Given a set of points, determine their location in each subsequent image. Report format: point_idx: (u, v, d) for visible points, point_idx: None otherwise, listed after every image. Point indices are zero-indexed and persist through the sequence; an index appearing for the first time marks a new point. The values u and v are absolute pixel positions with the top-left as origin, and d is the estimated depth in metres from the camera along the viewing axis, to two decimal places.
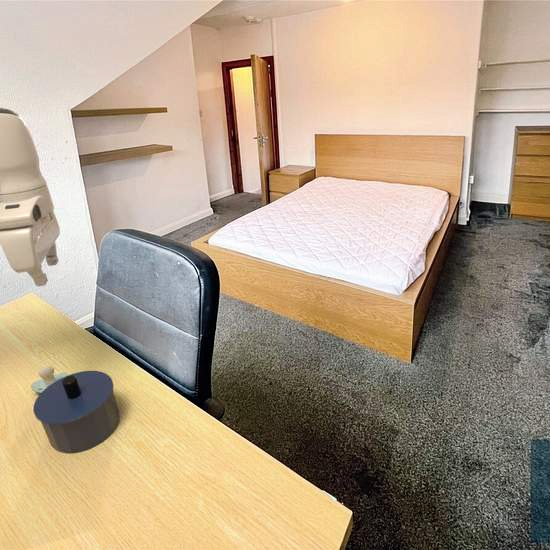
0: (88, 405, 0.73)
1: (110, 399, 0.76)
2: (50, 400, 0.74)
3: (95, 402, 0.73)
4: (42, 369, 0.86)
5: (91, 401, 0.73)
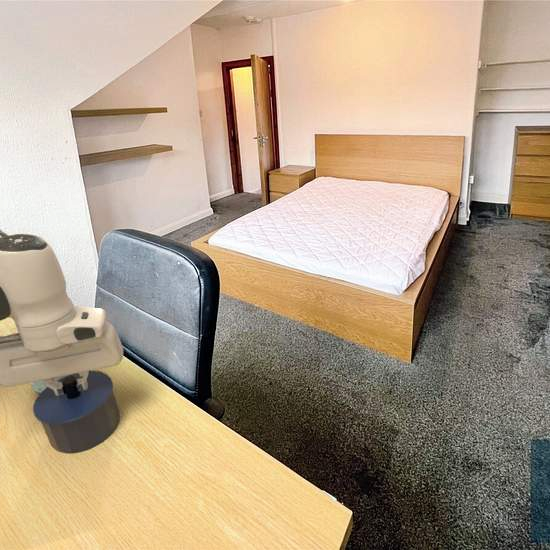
0: (88, 405, 0.73)
1: (110, 399, 0.76)
2: (50, 400, 0.74)
3: (95, 402, 0.73)
4: None
5: (91, 401, 0.73)
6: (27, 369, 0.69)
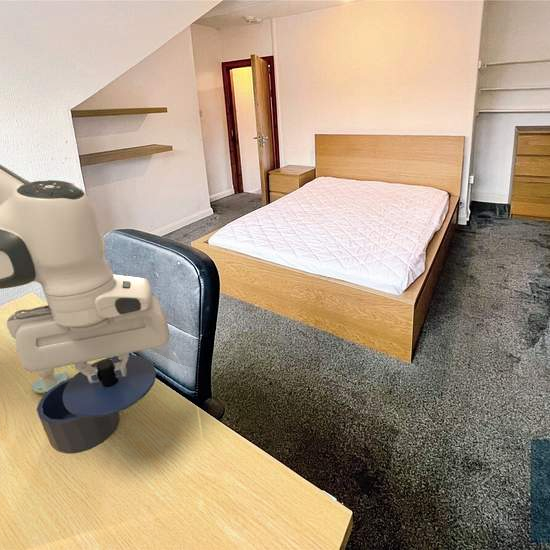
0: (129, 394, 0.60)
1: None
2: (82, 388, 0.62)
3: (137, 391, 0.61)
4: None
5: (132, 389, 0.61)
6: (57, 350, 0.57)
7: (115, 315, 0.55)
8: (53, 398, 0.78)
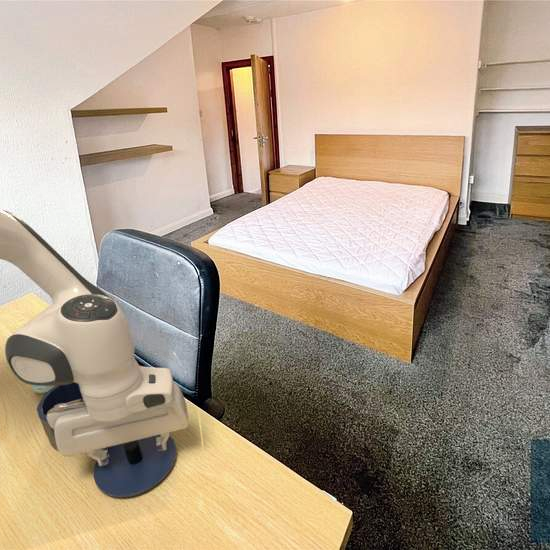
0: (153, 473, 0.67)
1: None
2: (110, 465, 0.69)
3: (160, 469, 0.68)
4: None
5: (155, 468, 0.68)
6: (90, 437, 0.64)
7: (143, 409, 0.62)
8: (53, 398, 0.78)
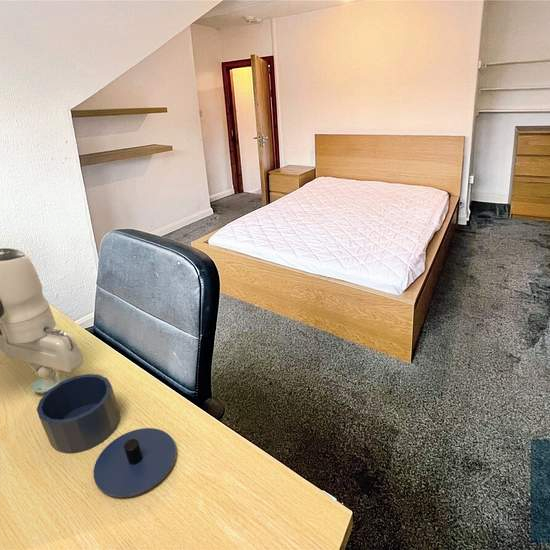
0: (153, 473, 0.67)
1: (110, 399, 0.76)
2: (110, 465, 0.69)
3: (160, 469, 0.68)
4: (41, 369, 0.86)
5: (155, 468, 0.68)
6: None
7: None
8: (53, 398, 0.78)
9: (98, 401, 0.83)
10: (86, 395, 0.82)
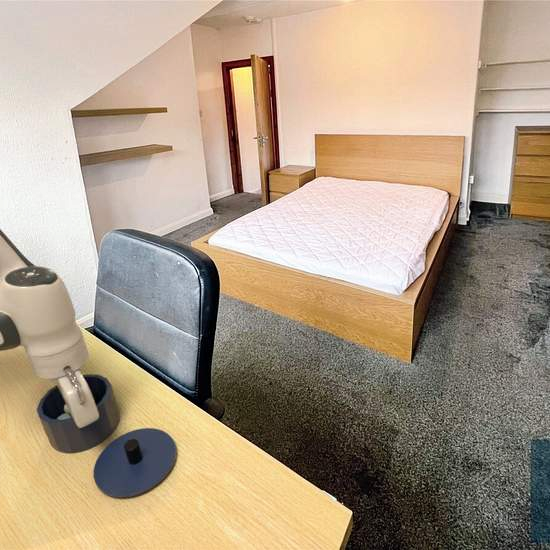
0: (153, 473, 0.67)
1: (110, 399, 0.76)
2: (110, 465, 0.69)
3: (160, 469, 0.68)
4: None
5: (155, 468, 0.68)
6: None
7: None
8: (53, 398, 0.78)
9: (98, 401, 0.83)
10: None
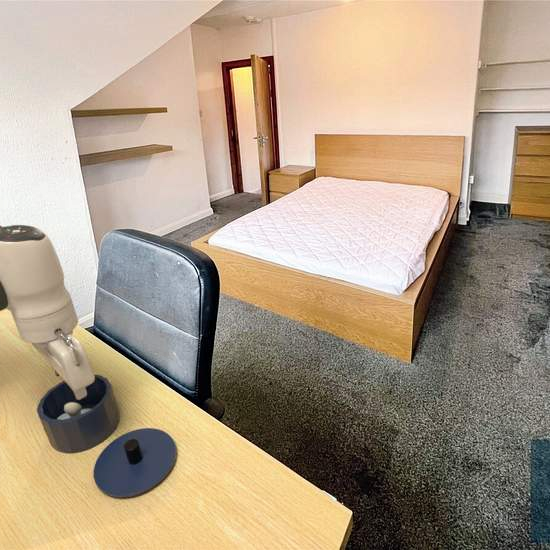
0: (153, 473, 0.67)
1: (110, 399, 0.76)
2: (110, 465, 0.69)
3: (160, 469, 0.68)
4: (67, 405, 0.75)
5: (155, 468, 0.68)
6: None
7: None
8: (53, 398, 0.78)
9: (98, 401, 0.83)
10: (86, 395, 0.82)
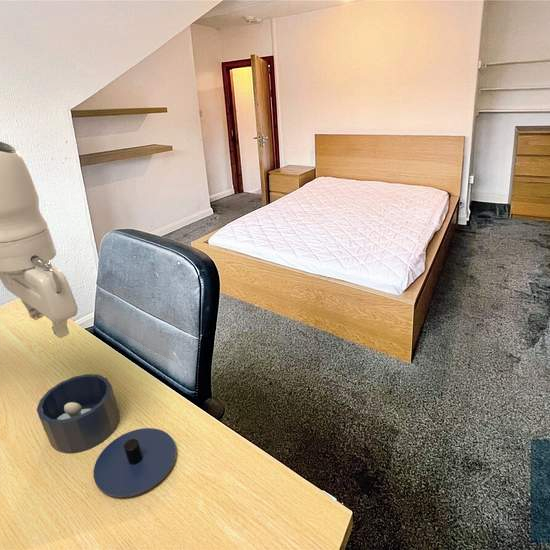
0: (153, 473, 0.67)
1: (110, 399, 0.76)
2: (110, 465, 0.69)
3: (160, 469, 0.68)
4: (67, 405, 0.75)
5: (155, 468, 0.68)
6: None
7: None
8: (53, 398, 0.78)
9: (98, 401, 0.83)
10: (86, 395, 0.82)
